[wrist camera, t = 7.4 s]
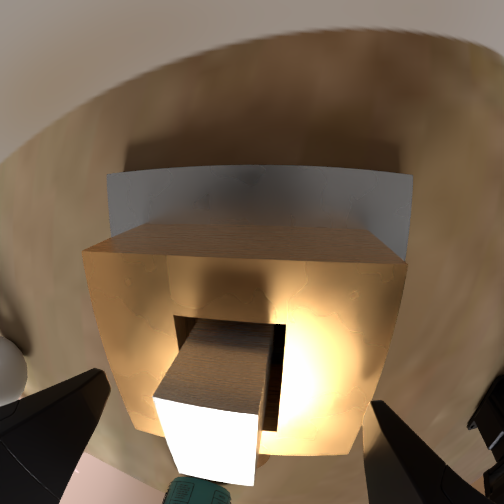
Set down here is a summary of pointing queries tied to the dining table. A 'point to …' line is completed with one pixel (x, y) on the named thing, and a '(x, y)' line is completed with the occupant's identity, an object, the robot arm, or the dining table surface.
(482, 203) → the dining table surface
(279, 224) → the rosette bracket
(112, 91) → the dining table surface
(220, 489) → the beverage bottle
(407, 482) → the robot arm
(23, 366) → the donut
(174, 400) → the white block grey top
